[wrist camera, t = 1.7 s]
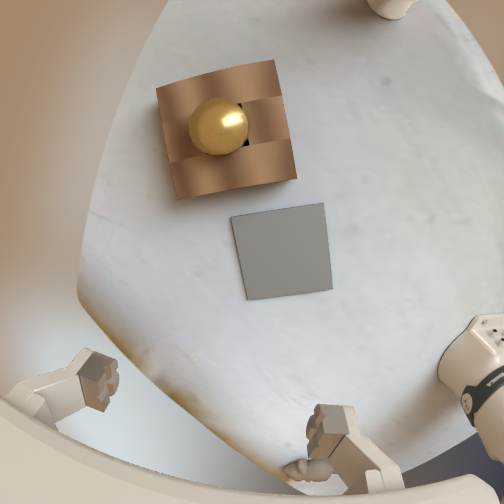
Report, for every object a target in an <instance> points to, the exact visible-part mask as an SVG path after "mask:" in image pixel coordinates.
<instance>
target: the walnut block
mask: <svg viewBox="0 0 504 504" xmlns="http://www.w3.org/2000/svg"><path fill="white" fill-rule="evenodd" d="M156 93H157V99H158V105H159V111H160V116H161V122H162V127H163V133H164V138H165V143H166V149H167V154H168V159H169V164H170V168H171V173H172V178H173V183H174V187H175V192H176V196H177V200H180V199H185V198H190V197H195V196H200V195H205V194H210V193H215V192H220V191H225V190H231V189H236V188H242V187H248V186H253V185H259V184H265V183H271V182H278V181H284V180H291V179H297V174H296V169H295V163H294V157H293V151H292V146H291V140H290V135H289V129H288V124H287V119H286V114H285V109H284V104H283V99H282V94H281V89H280V85H279V80H278V75H277V71H276V66H275V62H274V60H269V61H263V62H257V63H251V64H246V65H241V66H236V67H232V68H227V69H223V70H219V71H214V72H210V73H206V74H203V75H199V76H195V77H191V78H188V79H184V80H181V81H178V82H174V83H171V84H168V85H165V86H162V87H159V88H156ZM213 98H225V99H229V100H231V101H233V102H235V103H236V104H237V105H239V106H240V107H241V108H242V110H243V111H244V112H245V113H246V115H247V116H248V119H249V122H250V133H249V137H248V140H249V146H244V147H241V148H240V149H238V150H237V151H235V152H233V153H230V154H225V155H213V154H208V153H205V152H203V151H201V150H200V149H199V148H197V147H196V146H195V144H194V143H193V141H192V140H191V137H190V134H189V121H190V118H191V115H192V113H193V112H194V110H195V109H196V108H197V107H198V106H199V105H200V104H201V103H203V102H205V101H207V100H209V99H213Z"/></svg>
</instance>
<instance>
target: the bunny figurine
mask: <svg viewBox="0 0 504 504" xmlns="http://www.w3.org/2000/svg"><path fill="white" fill-rule="evenodd" d="M284 473H285V474H286V476H287V477H288V478H291V479H293V480H294V481H301V480H305V481H307V482H310V480H311V481H314V482H321V481H326V480H328V478H329V477H330V476H331V474H332V473H333V474H337V472H336V471H335V470H334V468H333V467H332V466H331V464H330V463H329V462H328V460H327V459H316V458H314V459H311V460H309V461H306V460H304V459H299V460H298V462H292V463H290V464H289V465H288V466H284Z"/></svg>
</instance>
